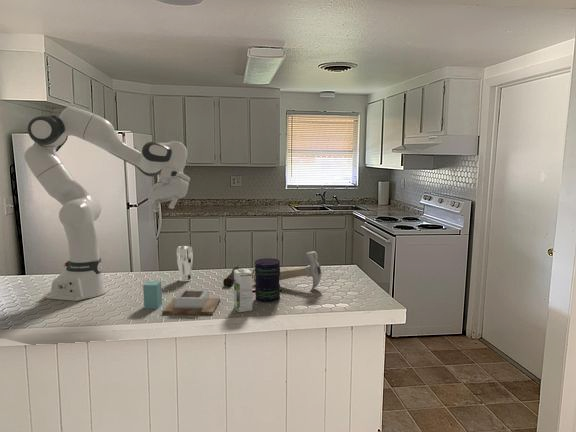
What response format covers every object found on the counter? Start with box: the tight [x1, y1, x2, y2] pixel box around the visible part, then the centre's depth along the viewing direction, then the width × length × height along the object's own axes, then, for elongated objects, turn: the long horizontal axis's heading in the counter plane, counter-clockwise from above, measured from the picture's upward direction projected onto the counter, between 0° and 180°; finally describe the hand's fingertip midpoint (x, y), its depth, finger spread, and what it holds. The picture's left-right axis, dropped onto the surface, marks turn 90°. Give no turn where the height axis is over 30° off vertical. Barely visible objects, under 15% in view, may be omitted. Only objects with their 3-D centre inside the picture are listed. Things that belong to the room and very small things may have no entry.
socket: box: [174, 289, 210, 310], centre depth 162 cm, size 10×10×4 cm
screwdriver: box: [251, 266, 255, 280], centre depth 200 cm, size 3×3×30 cm
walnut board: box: [161, 297, 221, 315], centre depth 163 cm, size 18×14×1 cm
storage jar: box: [254, 258, 281, 304], centre depth 171 cm, size 10×10×15 cm
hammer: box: [252, 250, 323, 292], centre depth 186 cm, size 16×5×30 cm
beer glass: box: [176, 245, 194, 283], centre depth 197 cm, size 7×7×15 cm
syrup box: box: [233, 268, 253, 313], centre depth 160 cm, size 6×6×14 cm
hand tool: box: [222, 266, 240, 288], centre depth 197 cm, size 19×4×5 cm, turn 170°
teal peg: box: [142, 280, 163, 310], centre depth 164 cm, size 5×5×9 cm
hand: (163, 209), depth 174 cm, fingers open, 8 cm apart
